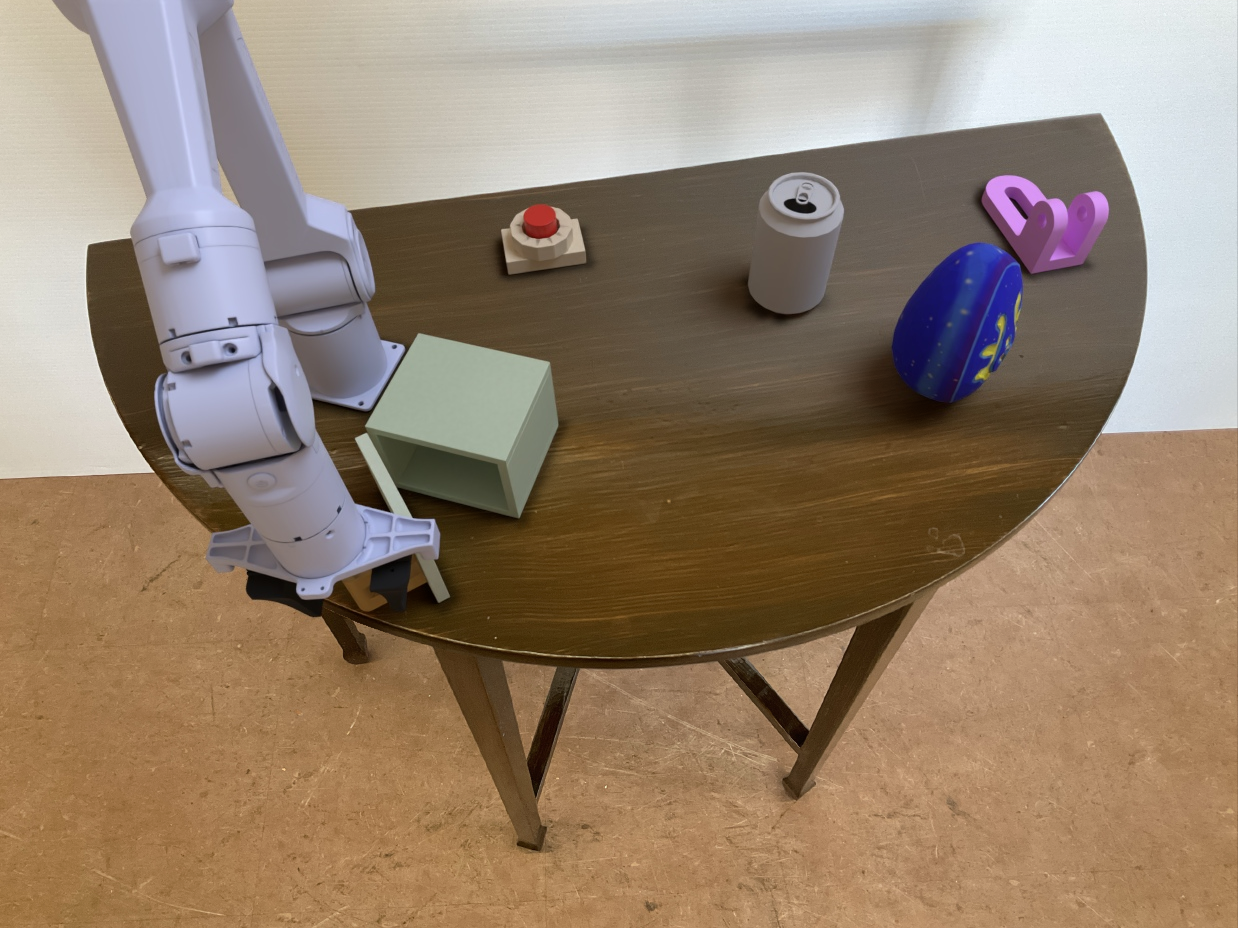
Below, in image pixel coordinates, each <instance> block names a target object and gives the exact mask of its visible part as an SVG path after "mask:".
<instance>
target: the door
mask: <svg viewBox="0 0 1238 928" xmlns="http://www.w3.org/2000/svg"><path fill="white" fill-rule="evenodd" d="M354 441H355V442H356V444H357V447H358V449H359V450H360V451H359V452H360V453H361V455H362V457H363V460H364V461H365V463H366V465H367V467H368V470H369V471H370V474H371V475H372V478H373V479H374V482H375V484H376V486H377V488H378V490H379V492H380V494H381V496H382V498H383V500H384V502H385V504H386V505H387V508H388V509H389V511H390V513H393V514H397V515H401V516H405V517H409V518H413V516H412V514H411V512H410V510H409V509H408V506H407V505H406V503H405V501H404V499H403V497H402V495H401V494H400V492H399V490H398V487H396V486H395V484H394V482H393V481H392V479H391V477H390V475H389V473H388V471H387V469H386V468H385V466H384V464H383V462H382V460H381V458H380V456H379V455H378V453H377V451H376V449H375V447H374V445H373V443H372V441H371V439H370V437H369V435H368V432H365V433H363V434H360V435H359V436H356V437H354ZM435 561H436V560H435V559H434V560H424V559H423V558H422V556H421V554H420V553H414V554H412V561H411V571H410V580H409V584H408V587H407V588H408V590H407V593H409V592H411V591H412V590H415V589H416V588H419V587H420V586H422V585H424V584H426V583H427V584H428V586H429V588H430V590H431V592H432V594H433V596H434V598H435V599H436V601H437V603H439V604H440V603H442V602H443V601H445V600H447V599H449V598H451V595H450V594H449V591H448V588H447V586H446V584H445V582H444V580H443V578H442V575H441V572H440V570H439V568H438V566H437V564H436V562H435ZM371 573H372V569H369V570H367V571H364V572H361V573H359V574H356V575H353V576H350V577H348V578H345V579H342V580H340V581H341V582H342V584H343V585H344V587H345V588H346V590H347V591H348V593H349V594H350V596H351V598H352V599H353V601H354V602H355V603H356V605H357V606H358V608H359V609H360V610H361V611H363V612H371V611H374V610H376V609H378V608H380V607H381V606H383V605H386V604H388V602H387V600H386V599H385V598H384V597H383V596H382V595H380V594H378V593H374V592H372V593H371V592H370V590H369V588H370V581H371Z"/></svg>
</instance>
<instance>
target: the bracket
mask: <svg viewBox="0 0 1238 928" xmlns="http://www.w3.org/2000/svg"><path fill="white" fill-rule="evenodd" d="M1011 199H1013V200H1014V201H1016V203H1017V204H1018V205H1019V207H1020V208H1021V209H1022V210H1023V212H1024V214H1025V215H1026V217H1027V219H1025V218H1024V217H1023V216H1022V214H1021V213H1020V212H1019V210H1018V209H1017V208H1016V206H1015V205H1014V203H1013V202H1012V200H1011ZM981 203H982V206H983V208H984V209H985V210H986V212H987V213H988V215H989V216H990V218H991V219H992V220H993V222H994V223H995V225H996V226H997V227H998V229H999V231H1000V232H1001V233H1002V234H1003V236H1004V237H1005V239H1006V241H1007V242H1008V243H1009V245H1010V246H1011V247H1012V249H1013V250H1014V252H1015V254H1016V255H1017V256H1018V257H1019V260H1020V261H1021V262H1022V263H1023V265H1024V266H1025V267H1026V269H1027V271H1028V272H1029V273H1030V274H1031V275H1032V274H1038V273H1043V272H1048V271H1053V270H1059V269H1065V268H1070V267H1076V266H1081V265H1083V264H1084V262H1085V261H1086V259H1087V257H1088V255H1089V254H1090V252H1091V250H1092V248H1093V247H1094V245H1095V243H1096V242H1097V240H1098V238H1099V236H1100V234H1101V233H1102V231H1103V229H1104V227H1105V226H1106V224H1107V223H1108V219H1109V213H1110V208H1109V207H1110V206H1109V202H1108V200H1107V198H1106V196H1105V195H1104V194H1103V193H1102V192H1100V191H1098V190H1095V191H1088V192H1083V193H1079V194H1077V195H1076V196H1074V198H1073V199H1072V200H1071V203H1070V205H1069V207H1068V209H1067V207H1066V204H1065V203H1064V202H1063V201H1062V200H1061V198H1060V199H1059V198H1058V197H1057V198H1056V197H1055V198H1049V199H1048V198H1046V196H1045V195H1044V194H1043V192H1042V191H1041V190H1040V189H1039V187H1038V186H1037V185H1036V184H1035V183H1034V182H1032V181H1031V180H1029V179H1027V178H1025V177H1021V176H1017V175H1011V174H1007V175H1006V174H1005V175H999V176H995V177H993V178H992V179H990V180H989V181H988V182H987V184H986V185H985V189H984V191H983V194H982V197H981Z"/></svg>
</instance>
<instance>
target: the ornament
mask: <svg viewBox="0 0 1238 928" xmlns="http://www.w3.org/2000/svg"><path fill="white" fill-rule="evenodd" d="M1023 293H1024V283H1023V275H1022V270H1021V265H1020V263H1019V262H1018V261H1017V260H1016V259H1015V258H1014V257H1013V256H1012V255H1011V254H1010V253H1008V252H1007V251H1005V250H1003V249H1002V248H1001V247H999V246H997V245H995V244H993V243H988V242H987V243H986V242H973V243H969V244H966V245H964V246H961V247H959V248H958V249H956V250H955V251H952V252H951V253H950V254H949V255H948V256H946V257H945V258H944V259H943V260H942V261H941V262H940V263H939V264H937V266H935V267H934V268H933V269H932V271H931V272H929V274H928V275H927V276H926V277H925V278H924V279H923V281H922V282H921V283H920V284H919V285H918V286H917V288H916V290H914V292H913V294H912V295H911V296H910V298H909V299H908V300H907V302H906V304H905V306H904V307H903V309H902V311H901V313H900V315H899V317H898V319H897V323H896V324H895V327H894V330H893V335H892V342H891V354H892V361H893V366H894V368H895V370H896V372H897V373H898V375H899V378H901V380H902V381H903V382H904V383H905V384H906V385H907V386H908V387H909V388H910V389H911V390H913V391H914V392H916V393H917V394H919V395H921V396H923V397H924V398H928V399H931V400H933V401H935V402H941V403H945V404H952V403H956V402H958V401H961V400H963V399H965V398H967V397H969V396H970V395H972V394H973V393H975V392H976V391H977V390H979V388H980V387H981V386H982V385H983V384H984V383H985V382H986V381H987V380H988V378H989V377H990V374H991V373H995V372H996V371H997V370H998V369H999V366H1000V365H1001V363H1002V362H1004V360H1005V359H1006V357H1007V355H1008V353H1009V352H1010V349H1011V348H1012V346H1013V343H1014V342H1015V339H1016V332H1017V330H1018V327H1017V326H1018V325H1017V324H1018V322H1019V319H1020V315H1021V313H1022V303H1023Z"/></svg>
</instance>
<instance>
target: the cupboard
mask: <svg viewBox="0 0 1238 928" xmlns="http://www.w3.org/2000/svg"><path fill="white" fill-rule="evenodd" d="M551 366H552V365H551V362H550V361H547V360H542V359H538V358H535V357H534V358H533V357H529V356H525V355H520V354H515V353H511V352H506V351H501V350H497V349H492V348H488V347H483V346H479V345H474V344H469V343H465V342H460V341H456V340H451V339H448V338H442V337H439V336H438V337H437V336H433V335H429V334H424V333H419V332H418V333H417V334H416V337H414V340H413V342H412V344H411V345H410V347H409V349H408V350H407V352H406V354H405V356H404V357H403V359H402V361H401V363H400V364H399V366H398V368H397V369H396V371H395V373H394V375H393V377H392V378H391V380H390V382H389V384H388V386H387V387H386V389H385V390H384V392H383V394H382V395H381V397H380V399H379V401H378V403H377V404H376V406H375V408H374V409H373V412H372V413H371V414H370V417H369V418H368V420H367V422H366V423H365V425H364V428H365V430H366V433H367V434H368V436H369V438H370V440H371V441H372V443H373V445H374V447H375V449H376V451H377V453H378V455H379V456H380V458H381V460H382V462H383V464H384V466H385V468H386V469H387V471H388V473H389V475H390V477H391V479H392V481H393V482H394V484H395V486H396V488H397V489H402V490H407V491H410V492H414V493H419V494H421V495H425V496H430V497H433V498H437V499H441V500H445V501H449V502H453V503H457V504H461V505H465V506H468V507H473V508H476V509H481V510H483V511H484V510H485V511H489V512H491V513H496V514H500V515H503V516H507V517H511V518H514V519H515V518H516V519H520V518H521V515H522V513H523V511H524V508H525V506H526V503H527V502H528V499H529V496H530V494H531V491H532V489H533V487H534V485H535V483H536V480H537V477H538V476H539V473H540V471H541V469H542V468H541V467H542V466H543V463H544V461H545V459H546V457H547V454H548V451H549V449H550V446H551V445H552V441H553V440H554V437H555V435H556V432H557V430H558V428H559V417H558V410H557V405H556V404H557V403H556V396H555V388H554V381H553V375H552V367H551Z"/></svg>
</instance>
